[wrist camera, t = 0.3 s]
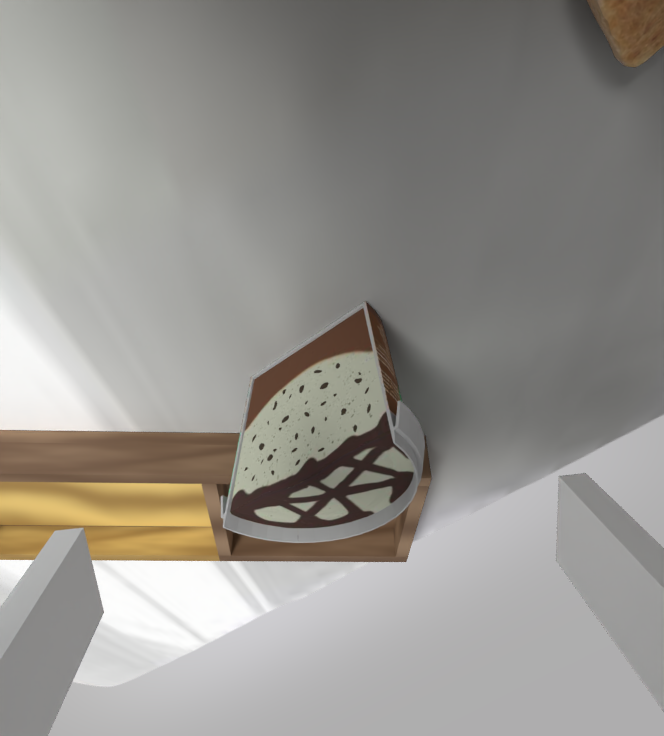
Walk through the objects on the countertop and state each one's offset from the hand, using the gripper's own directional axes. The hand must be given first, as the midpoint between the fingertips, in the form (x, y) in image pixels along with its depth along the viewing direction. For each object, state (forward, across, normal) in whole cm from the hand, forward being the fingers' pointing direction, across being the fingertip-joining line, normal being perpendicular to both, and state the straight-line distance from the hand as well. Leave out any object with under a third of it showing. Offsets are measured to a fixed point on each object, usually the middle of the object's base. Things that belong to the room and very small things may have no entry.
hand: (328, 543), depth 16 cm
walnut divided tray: (+28, -11, -12) cm, 32 cm away
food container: (+21, +2, -1) cm, 21 cm away
